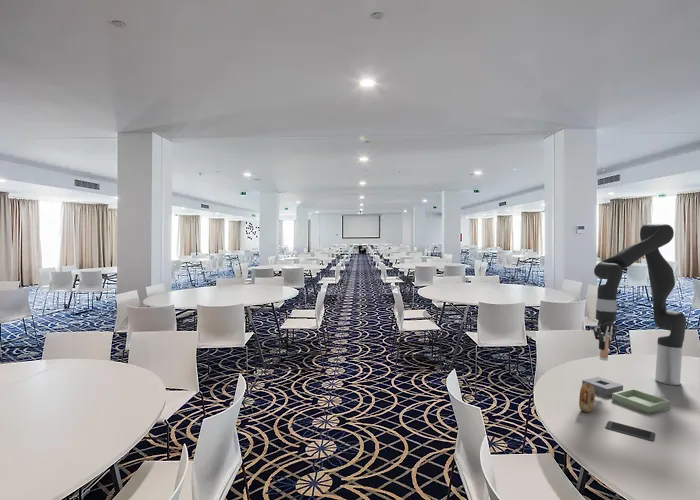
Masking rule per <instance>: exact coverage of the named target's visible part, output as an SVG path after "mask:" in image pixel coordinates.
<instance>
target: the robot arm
mask: <svg viewBox="0 0 700 500" xmlns="http://www.w3.org/2000/svg"><path fill="white" fill-rule="evenodd" d="M674 231H675V230H674V228H673V227H672V225H670V224H667V223H645V224H643V225H642V226H641V227H640V231H639V237H640V241H639V242H637V243H633V244H630V245H628V246H626V247H625V248H623V249H621V250H620V251H619V252H617V253H616V254H615V255H612V256H610V257H608V258H605V259H604V260H602V261H600V262H598V263H597V264H596V265H595V267H594V270H593V271H594V272H593V273H594V275H595V277H596V278H598V279H602V280H606V282H605V283H604V284H599V285H598V287H597V295H596V296H597V297H596V304H595V319H596V320H597V326H593V327H592V331H593V334H594V338H595V340H597V341H598V349H599V350H600V349H601V350H605V338H606V336H607V334H609V347H608V350H610V349H611V341H612V340H613V339H614V338H615V336H616V334H617V333H616V332H617V329H618V325H615V324H614V323H615V322H616V321H617V311H618V310H617V309H618V304H617V293H618V288H619V286H620V283H621V280H622V277H623V270H625V269H628V268H629V267H630V266H632V265H633V264H634V263H635V262H637V261H638V260H640V259H641V258H642V257H643V258H644V257H645V261H646V266H647V270H648V271H647V272H648V280H649V285H650V290H651V296H652V308H653V310H652V311H653V322H654V325H655V326H656V328H658V329H661V330H664V331H669V332H670V334H669V335H667V336H659V337H658V338H657V340H656V341H657V343H656V346H657V347H656V358H655V359H656V361H655V377H654V378H655V379H654V380H655V381H656V382H659V383H661V384H665V385H671V386H679V385H681V378H682V377H681V376H682V375H681V374H682V363H683V362H682V358H683V345H684V344H683V343H684V341H685V333H686V328H687V327H686V326H687V318H686V315H685V314H684V312H680V311H675V310H669V309H668V308H667V298H668V297H669V295H671V293H672V291H673V290H674V288H675V285H676V279H675V274H674V273H675V272H674V269H673V268H672V266H671V264H670V263H669V262H668V261H667V260H666V258H664V255H662V253H661V251H660V249H659V248H661V247H664V246H665V245H667V244H669V243H670V242H671V241H672V240H673V238H674V235H675V233H674ZM602 333H604V334H602ZM602 336H603V338H602Z"/></svg>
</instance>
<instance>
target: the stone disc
mask: <svg viewBox="0 0 700 500" xmlns="http://www.w3.org/2000/svg"><path fill="white" fill-rule="evenodd" d="M595 394H596V393H595V391H594V386H592V385H590V384H583V385H582V384H581V386H580V390H579V399H578V406H579V410H580V411H582V412H586V413H591V411H592V410H593V409H594V406H595V401H596V395H595Z"/></svg>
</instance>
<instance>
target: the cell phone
mask: <svg viewBox="0 0 700 500" xmlns="http://www.w3.org/2000/svg"><path fill="white" fill-rule="evenodd" d="M604 428H605V429H606V430H609V431H612V432H616V433H620V434H624V435H628V436H630V437H635V438H637V439H638V438H639V439H642V440H646V441H650V442H655V439H656V433H655V432H653V431H650V430H647V429H644V428H643V429H642V428H638V427H635V426H631V425H627V424H623V423H620V422H616V421H613V420H608V421H607V423H606V424H605V427H604Z"/></svg>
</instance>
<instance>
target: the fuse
mask: <svg viewBox="0 0 700 500" xmlns="http://www.w3.org/2000/svg"><path fill="white" fill-rule="evenodd" d="M602 334H604V333H602ZM602 338H603V336H602ZM608 347H609V334H607V336H606V338H605V350H601V349H599V360H602V361H609V349H608Z"/></svg>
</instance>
